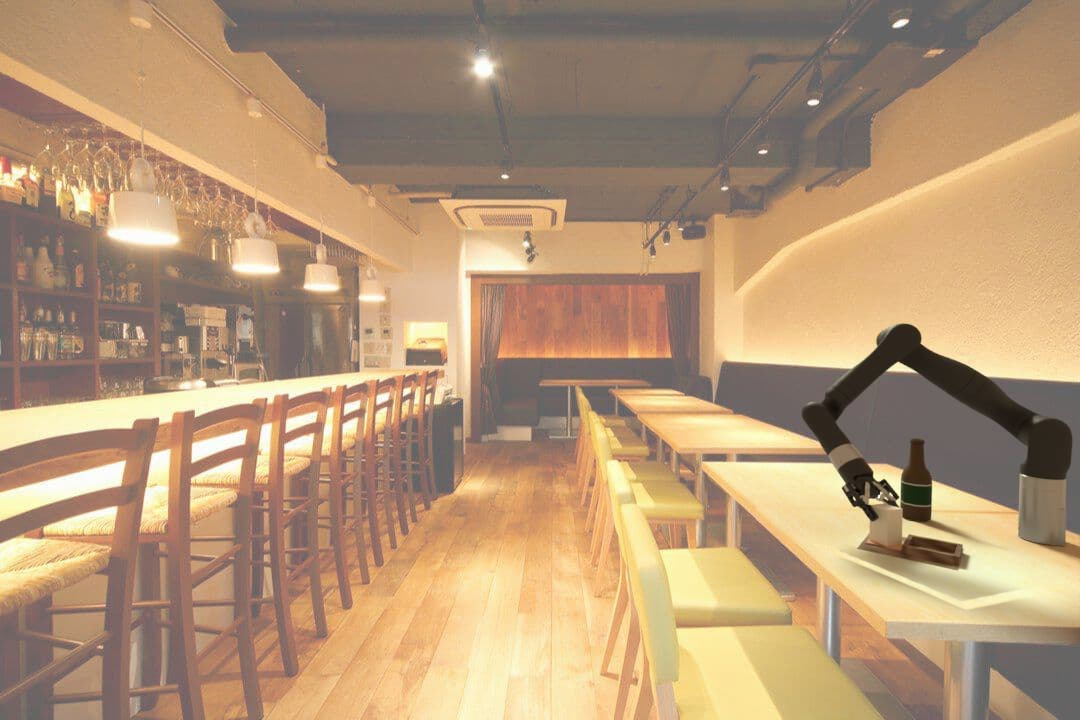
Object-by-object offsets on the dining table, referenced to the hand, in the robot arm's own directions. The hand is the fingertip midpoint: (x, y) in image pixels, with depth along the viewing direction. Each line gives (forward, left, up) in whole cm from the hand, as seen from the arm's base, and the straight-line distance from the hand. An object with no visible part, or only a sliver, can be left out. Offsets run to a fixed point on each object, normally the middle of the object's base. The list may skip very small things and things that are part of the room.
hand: (888, 518), depth 139 cm
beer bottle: (-2, -36, -8) cm, 37 cm away
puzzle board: (-5, 0, -8) cm, 9 cm away
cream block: (+1, 0, -6) cm, 6 cm away
